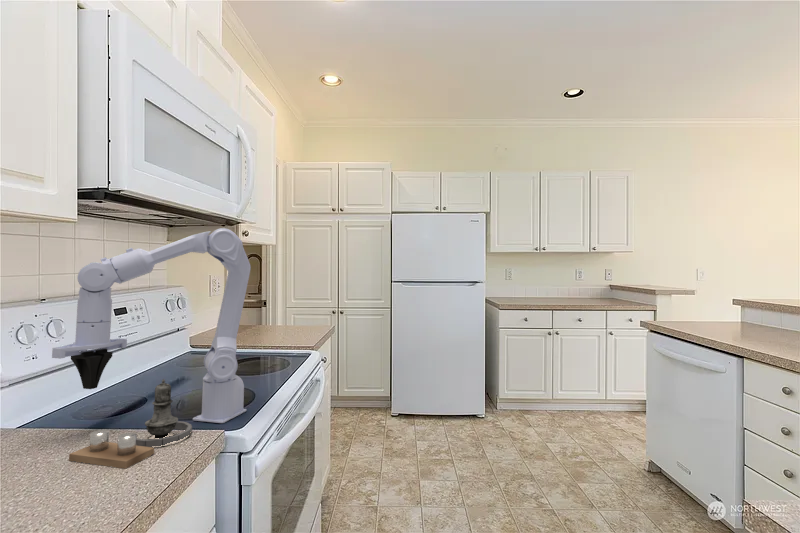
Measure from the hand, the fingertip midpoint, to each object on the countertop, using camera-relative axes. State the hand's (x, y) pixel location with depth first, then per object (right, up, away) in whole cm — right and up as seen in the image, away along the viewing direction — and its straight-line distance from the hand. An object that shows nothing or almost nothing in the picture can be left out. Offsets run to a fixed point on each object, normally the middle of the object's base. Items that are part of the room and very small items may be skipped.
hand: (90, 388), depth 84 cm
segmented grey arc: (+17, -10, -1) cm, 20 cm away
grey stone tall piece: (+15, -10, -1) cm, 18 cm away
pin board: (+12, -9, -10) cm, 18 cm away
